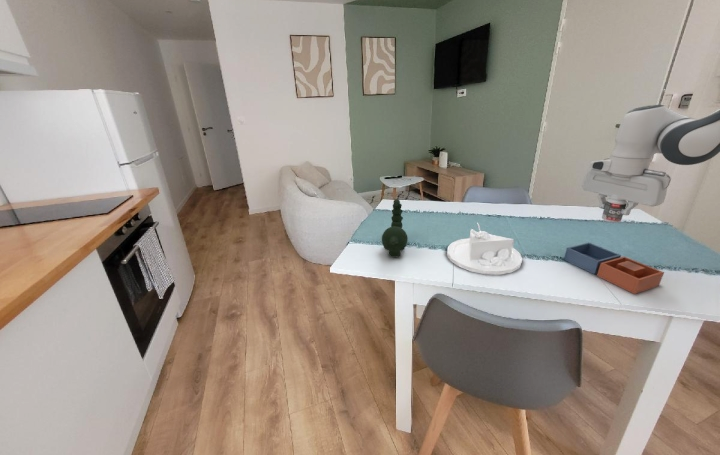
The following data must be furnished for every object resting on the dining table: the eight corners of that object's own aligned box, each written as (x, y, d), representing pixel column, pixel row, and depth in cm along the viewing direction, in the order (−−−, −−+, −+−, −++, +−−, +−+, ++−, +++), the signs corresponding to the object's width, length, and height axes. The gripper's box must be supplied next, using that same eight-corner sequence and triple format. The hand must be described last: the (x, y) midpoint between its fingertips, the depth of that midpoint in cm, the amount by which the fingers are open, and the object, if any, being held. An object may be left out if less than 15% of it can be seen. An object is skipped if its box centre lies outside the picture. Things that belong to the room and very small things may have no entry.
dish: (446, 269, 97) (448, 239, 93) (448, 238, 119) (450, 212, 115) (528, 279, 90) (534, 246, 86) (514, 243, 112) (519, 216, 108)
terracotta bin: (658, 285, 84) (664, 272, 82) (634, 294, 81) (639, 280, 79) (619, 268, 93) (624, 256, 91) (596, 275, 90) (600, 262, 88)
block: (640, 281, 85) (645, 267, 84) (629, 284, 84) (634, 271, 82) (623, 273, 89) (627, 260, 88) (612, 276, 88) (617, 263, 86)
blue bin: (616, 267, 93) (621, 255, 92) (594, 274, 91) (598, 261, 89) (585, 253, 102) (588, 242, 101) (563, 259, 100) (566, 247, 98)
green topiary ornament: (386, 239, 125) (379, 263, 102) (385, 196, 120) (379, 211, 96) (408, 239, 124) (406, 264, 100) (408, 196, 118) (407, 212, 95)
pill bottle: (606, 222, 88) (614, 195, 85) (598, 216, 93) (605, 191, 89) (624, 222, 87) (633, 196, 84) (615, 217, 92) (624, 191, 88)
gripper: (681, 171, 75) (661, 221, 81) (599, 159, 93) (587, 200, 99) (665, 174, 74) (646, 224, 79) (584, 161, 91) (574, 203, 97)
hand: (613, 211), depth 89 cm, fingers closed on pill bottle, 5 cm apart
